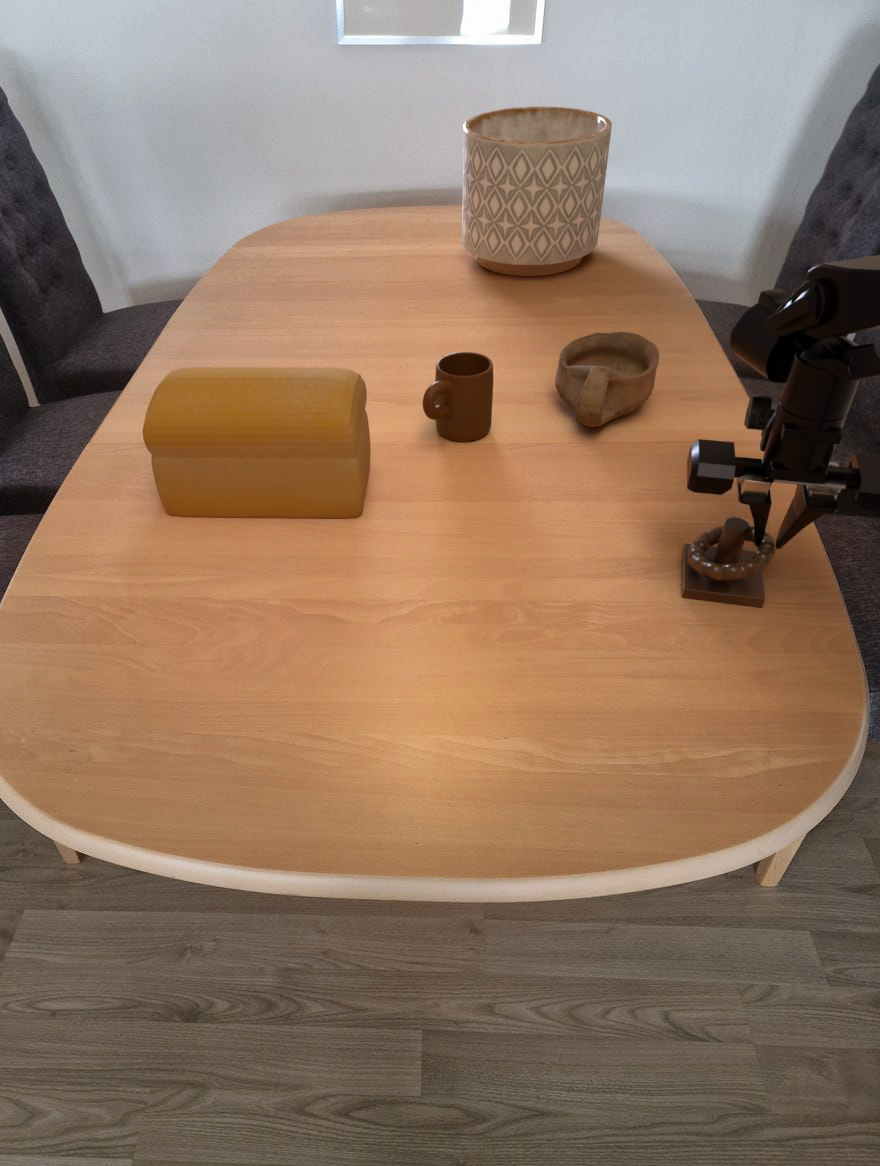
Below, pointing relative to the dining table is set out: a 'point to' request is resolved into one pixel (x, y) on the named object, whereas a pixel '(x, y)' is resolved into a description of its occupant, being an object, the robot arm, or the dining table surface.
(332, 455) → the bread
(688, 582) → the stand
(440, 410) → the mug
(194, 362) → the dining table surface
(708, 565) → the ring
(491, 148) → the planter
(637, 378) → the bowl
